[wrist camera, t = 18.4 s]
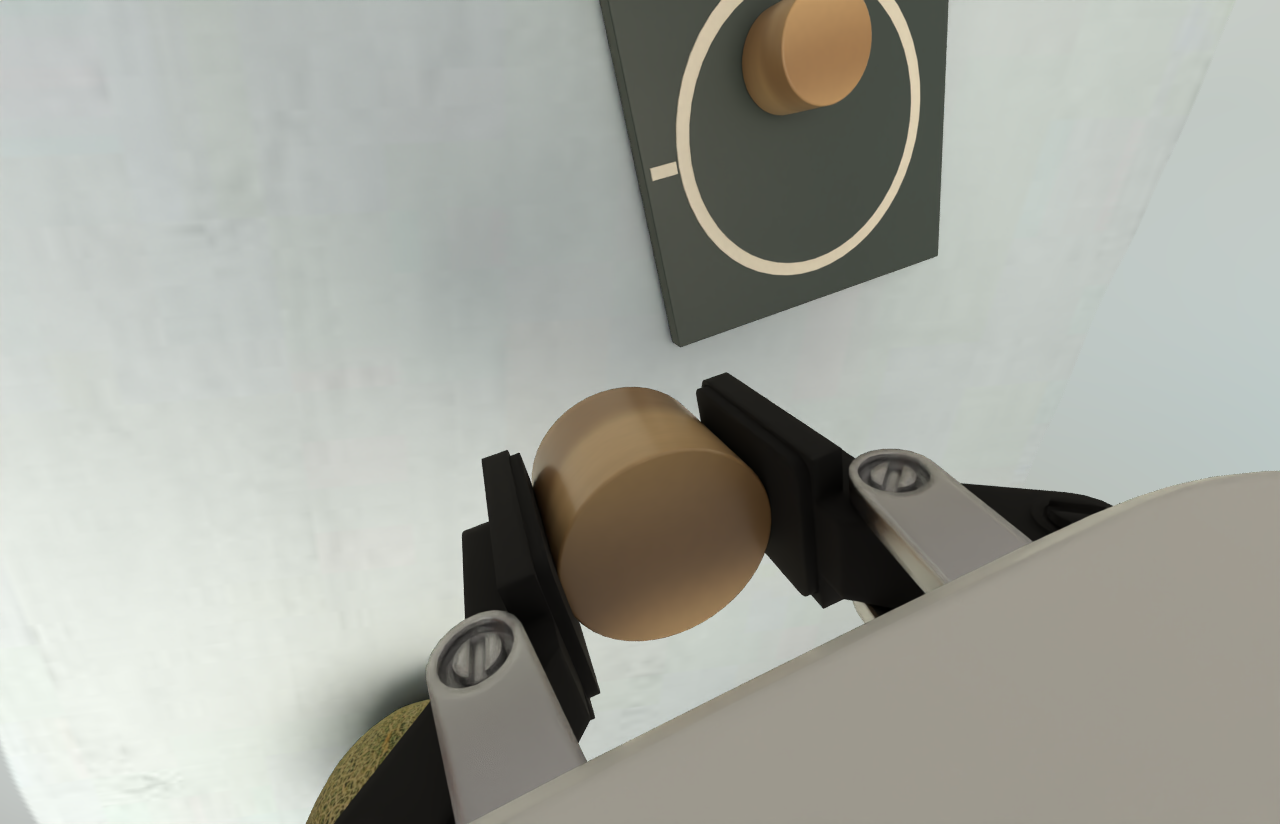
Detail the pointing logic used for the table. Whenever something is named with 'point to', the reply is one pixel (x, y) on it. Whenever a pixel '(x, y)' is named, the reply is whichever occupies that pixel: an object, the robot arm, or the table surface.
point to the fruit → (362, 763)
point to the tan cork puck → (806, 54)
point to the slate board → (776, 160)
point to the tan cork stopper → (647, 514)
